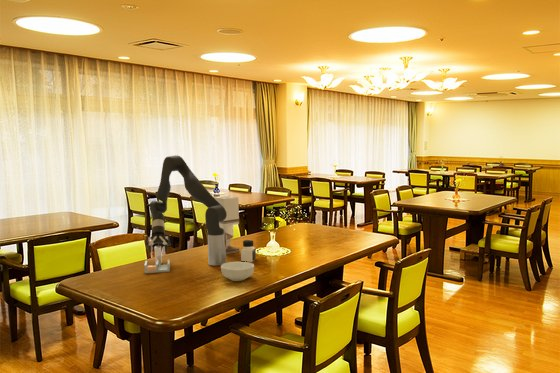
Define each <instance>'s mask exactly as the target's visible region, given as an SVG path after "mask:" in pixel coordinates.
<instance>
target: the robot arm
mask: <svg viewBox="0 0 560 373" xmlns="http://www.w3.org/2000/svg"><path fill="white" fill-rule="evenodd" d="M173 172H178V173H179V174H180V175H181V176H182V177H183V184H184V185H183V186H184V188H185V190H186V191H187V193H188V194H189V195H190V196H191V197H192V198H193V199H194V200H196V201H197V202H198V203H199V202H200V203H201V204H203V205H204V206H205V207H207V209H206V210H205V213H204V214H205V215H204V216H205V229H206V232H207V258H208V262H207V263H208V266H213V267H214V266H221V265H222V264H224V263H227V256H226V255H227V254H226V247H224V229H223V228H220V227H219V222H220V221H223V220H225V219H226V216H227V213H226V210H225V208H224V207H223V206H222V205H221V204H220V203H219V202H218V201H217V200H216V199H215V198H214V197H215V196H213V195H212V194H211V193H210V192H209V191H208V189H207V188H206V187H205V186H204V184H203V183H202V182H201V181H200V179H199V178H197V176H196V175H195V174H194V173H193V171H192V170H191V169H190V167H189V166H188V164H187V162H186V161H185V159H184V158H183V157H182V156H180V155H178V154H177V155H176V154H175V155H168V156H166V157H164V160H163V162H162V168H161V174H160V181H159V182H160V183H159V186H158V190H157V192H156V195H155V198H156V199H157V200H152V201H151V202H150V203H149V211H150V215H151V217H152V218H151V220H152V222H151V236H148V235H147V236H145V242H144V243H145V244H144V245H145V248H148V253H152V247H153V245H161V244H162V245H163V246H164V252H165V253H167V252H168V249H169V248H168V247H169V246H172V244H171V243H172V242H171V241H172V240H171V235H170V234H168V235H165V234H166V233H165V232H166V231H165V229H166V227H165V226H166V225H165V215H164V214H165V213H166V212H167V211H168V199H169V195H170V193H171V188H172V187H171V181H170V177H171V175H172V173H173ZM150 240H151V241H150ZM149 241H150V242H149Z"/></svg>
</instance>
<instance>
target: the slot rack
mask: <svg viewBox="0 0 560 373" xmlns="http://www.w3.org/2000/svg"><path fill="white" fill-rule="evenodd" d="M170 261H171V260H170V258H169V259H167V264H161V265H159V260H157V261H156V265H155V264H153V265H151V264H150V265H148V260H145V261H144V264H143V265H144V274H153V273H169V272H171V264H170Z"/></svg>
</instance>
